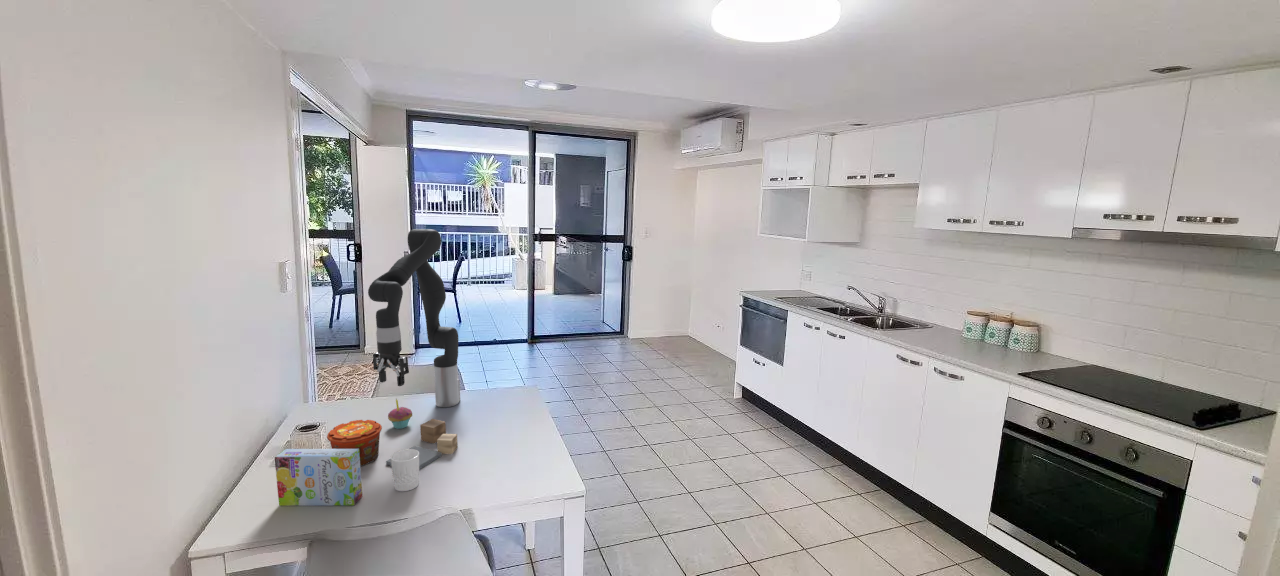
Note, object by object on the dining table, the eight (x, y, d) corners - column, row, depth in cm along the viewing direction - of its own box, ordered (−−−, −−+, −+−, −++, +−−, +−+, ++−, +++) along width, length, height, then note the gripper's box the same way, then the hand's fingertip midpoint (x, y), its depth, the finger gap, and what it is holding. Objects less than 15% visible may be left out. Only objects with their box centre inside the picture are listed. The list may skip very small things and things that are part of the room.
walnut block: (433, 434, 197) (432, 418, 196) (446, 437, 195) (445, 421, 194) (421, 440, 192) (420, 424, 191) (434, 443, 189) (433, 427, 188)
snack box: (363, 495, 156) (360, 447, 153) (354, 506, 150) (350, 456, 148) (289, 495, 155) (285, 447, 153) (277, 506, 150) (272, 456, 147)
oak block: (443, 447, 187) (442, 433, 186) (457, 447, 187) (457, 434, 186) (437, 453, 182) (437, 440, 181) (452, 454, 182) (451, 440, 181)
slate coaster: (414, 448, 185) (414, 445, 185) (441, 455, 180) (441, 452, 180) (386, 464, 174) (386, 461, 174) (414, 472, 170) (414, 468, 169)
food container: (361, 473, 168) (358, 441, 167) (317, 467, 171) (314, 436, 170) (393, 450, 184) (392, 421, 182) (353, 445, 187) (351, 416, 185)
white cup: (412, 476, 167) (411, 446, 165) (425, 485, 162) (424, 454, 161) (387, 486, 161) (385, 455, 159) (400, 495, 156) (398, 464, 155)
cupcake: (406, 431, 199) (404, 400, 197) (384, 430, 199) (382, 400, 197) (416, 421, 207) (415, 392, 205) (395, 421, 207) (393, 391, 205)
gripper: (412, 338, 184) (415, 383, 186) (383, 333, 189) (386, 377, 192) (395, 344, 177) (398, 390, 180) (364, 338, 182) (368, 383, 185)
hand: (391, 383), depth 186 cm, fingers open, 8 cm apart
